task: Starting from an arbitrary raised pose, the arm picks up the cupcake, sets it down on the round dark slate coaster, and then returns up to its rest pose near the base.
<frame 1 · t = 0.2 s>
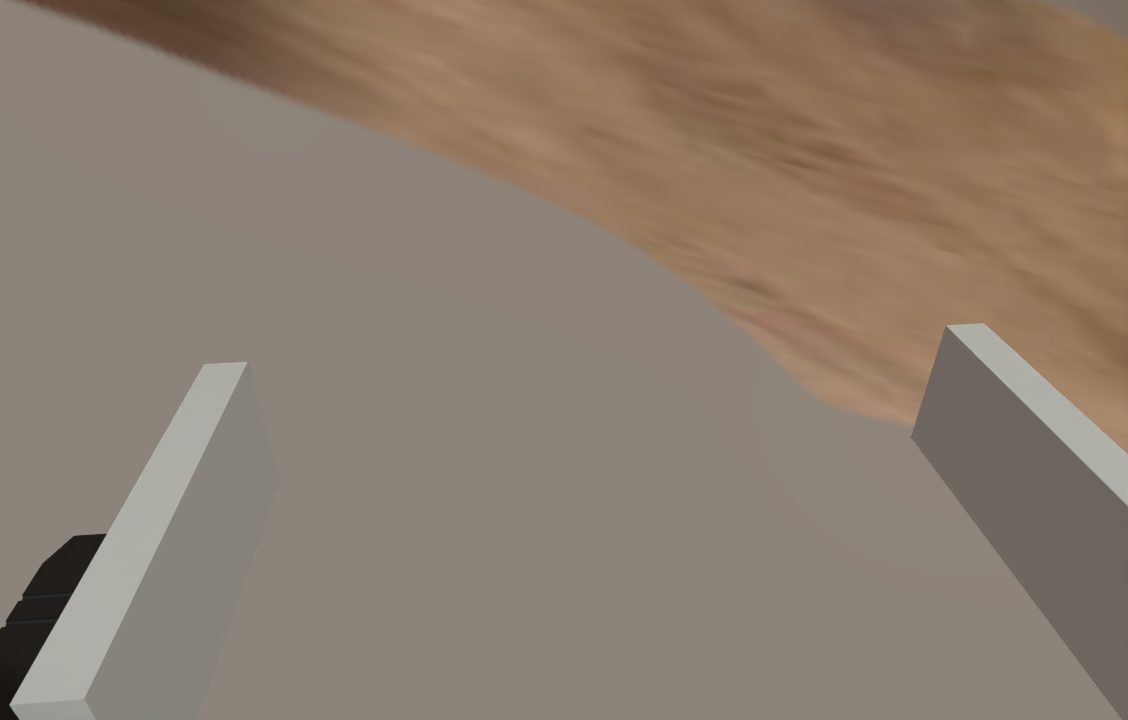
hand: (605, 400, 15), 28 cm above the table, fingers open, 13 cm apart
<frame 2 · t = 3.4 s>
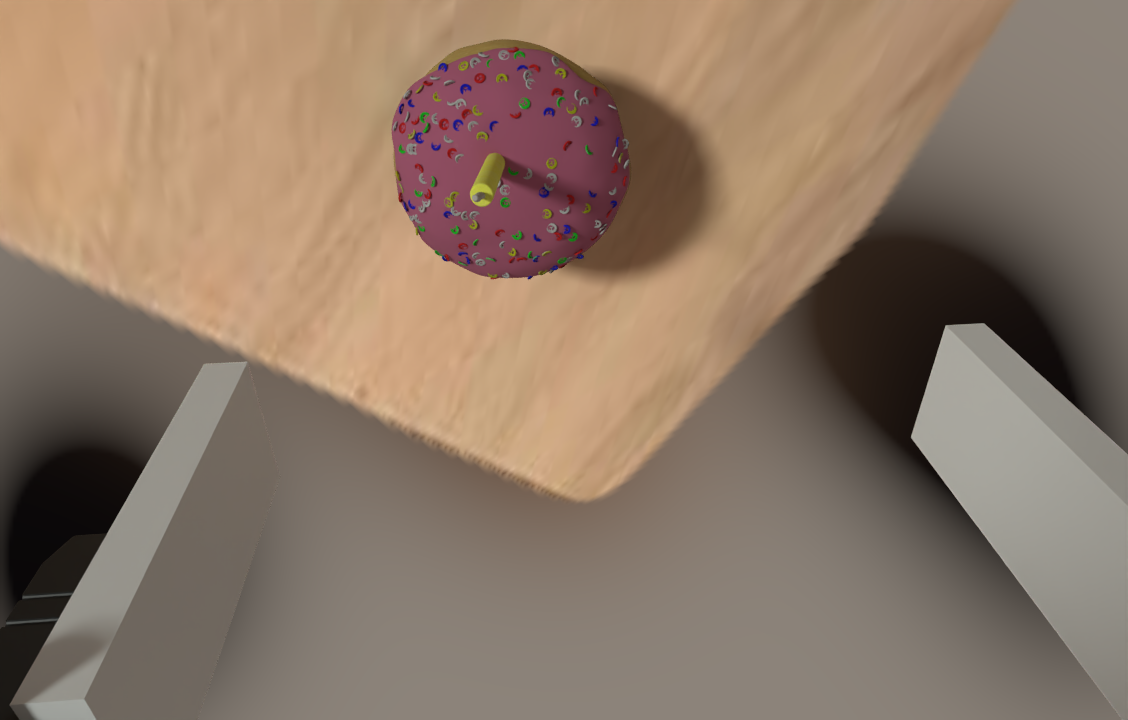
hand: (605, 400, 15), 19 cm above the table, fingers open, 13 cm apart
cupcake: (509, 129, 31), on the table
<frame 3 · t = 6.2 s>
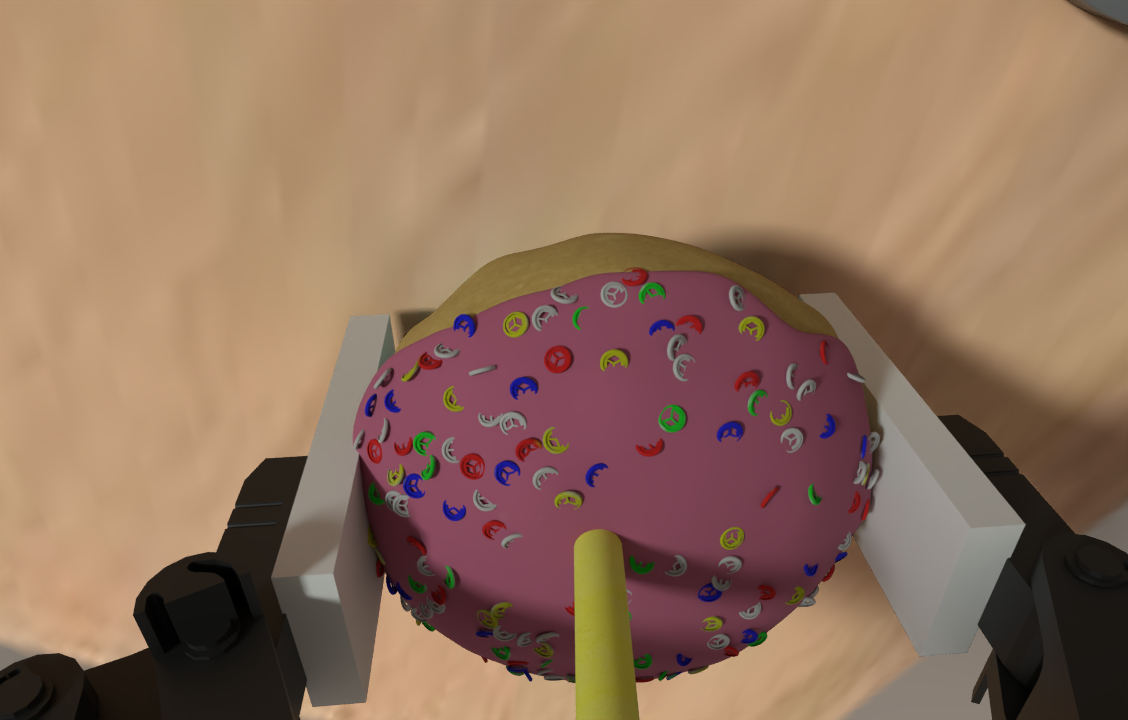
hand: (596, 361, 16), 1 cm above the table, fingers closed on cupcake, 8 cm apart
cupcake: (585, 335, 17), on the table, touching gripper
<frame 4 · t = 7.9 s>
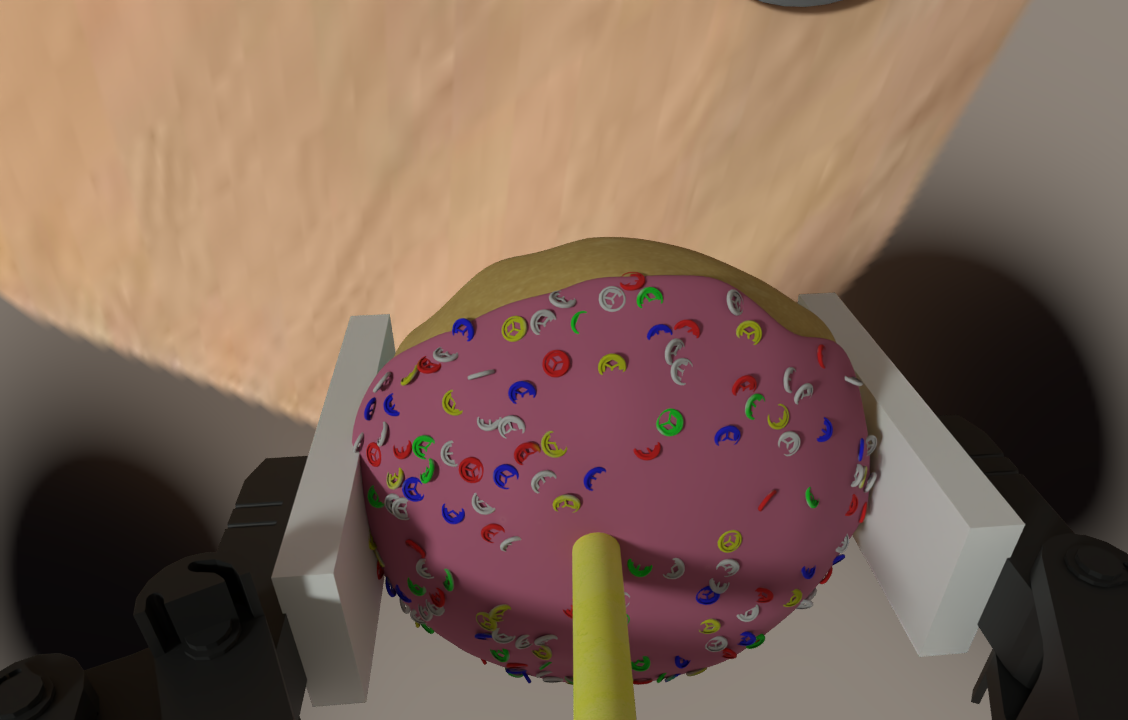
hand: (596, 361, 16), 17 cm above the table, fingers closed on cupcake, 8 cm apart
cupcake: (584, 338, 17), point 16 cm above the table, touching gripper
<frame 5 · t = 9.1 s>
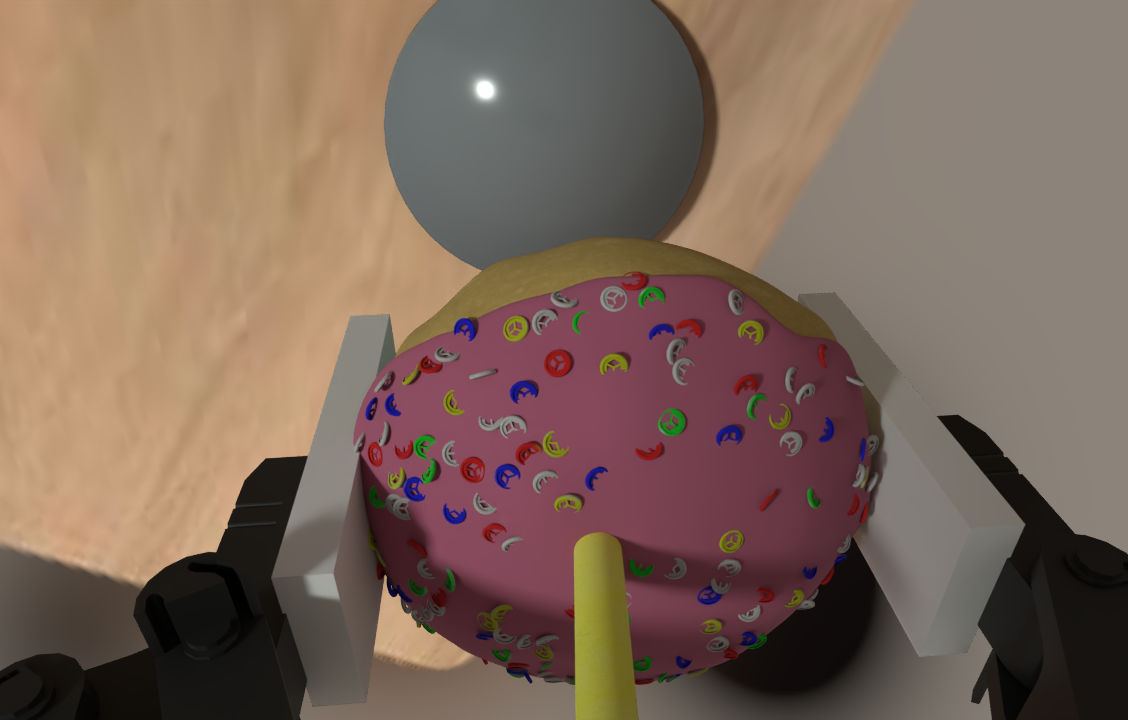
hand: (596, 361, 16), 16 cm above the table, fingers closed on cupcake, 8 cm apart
cupcake: (585, 338, 17), point 15 cm above the table, touching gripper
coaster: (545, 133, 29), on the table
when the fingers open (4 cm above the table, at t = 12.0 s): cupcake drops 2 cm, resting on coaster.
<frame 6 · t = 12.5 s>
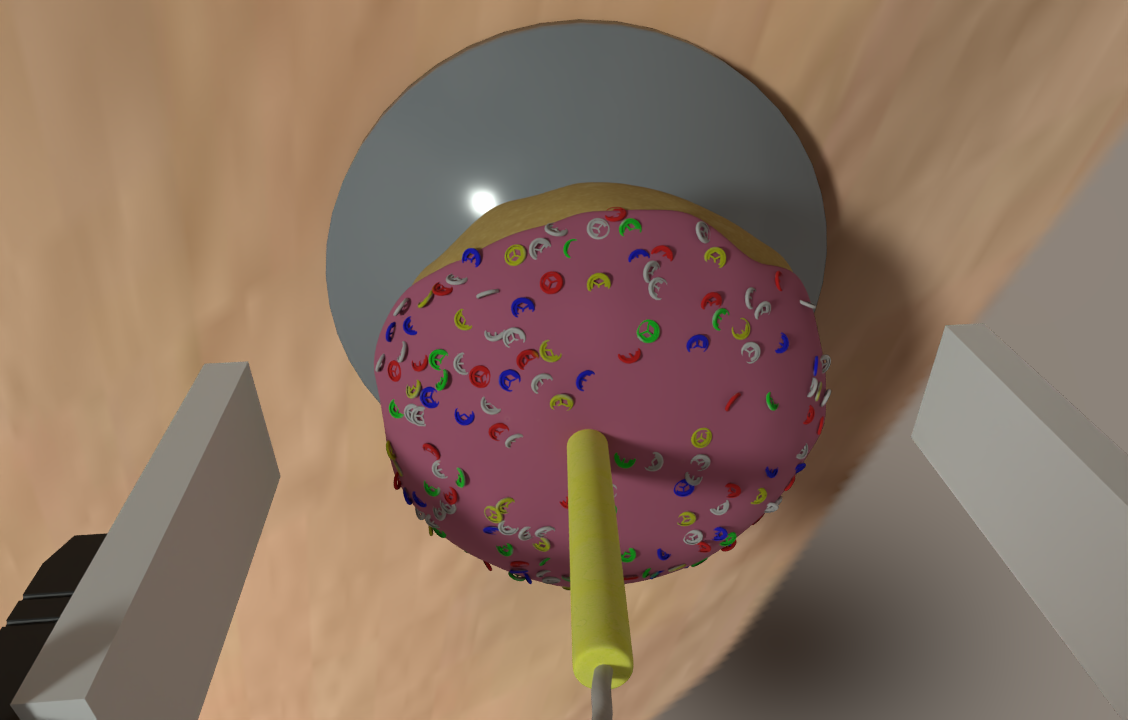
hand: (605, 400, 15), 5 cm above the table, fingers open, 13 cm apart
cupcake: (575, 291, 18), point 1 cm above the table, touching coaster
coaster: (578, 278, 19), on the table
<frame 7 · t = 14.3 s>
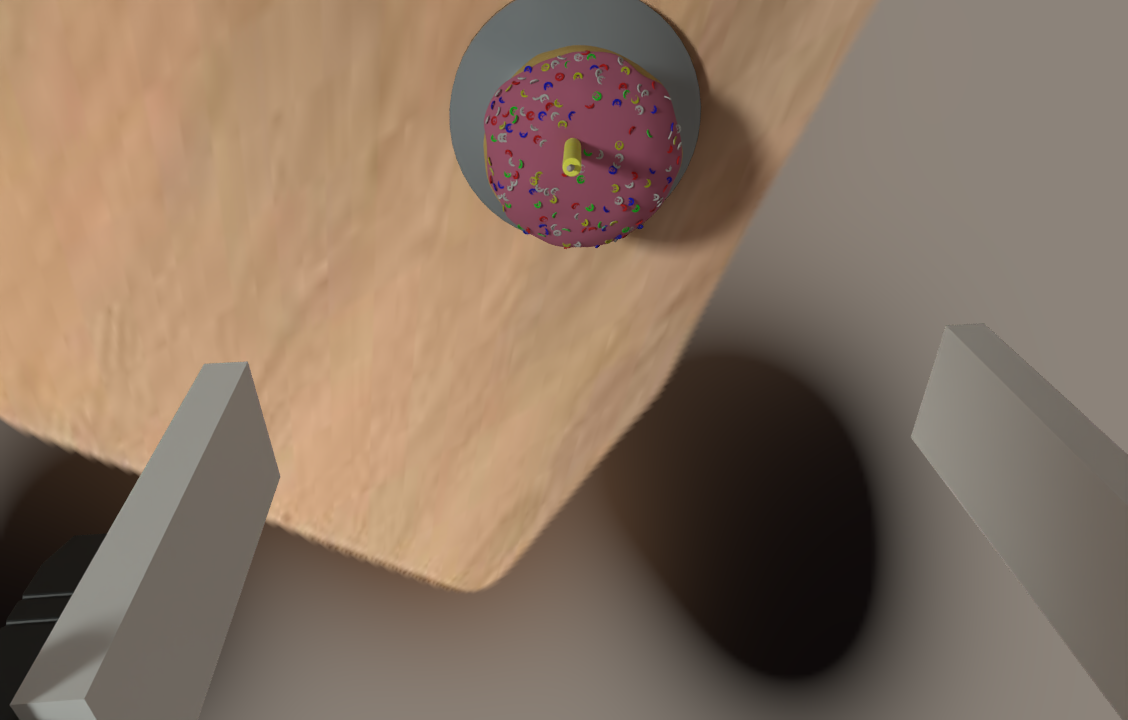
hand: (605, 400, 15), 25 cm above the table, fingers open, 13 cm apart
cupcake: (573, 123, 36), point 1 cm above the table, touching coaster
coaster: (574, 119, 37), on the table
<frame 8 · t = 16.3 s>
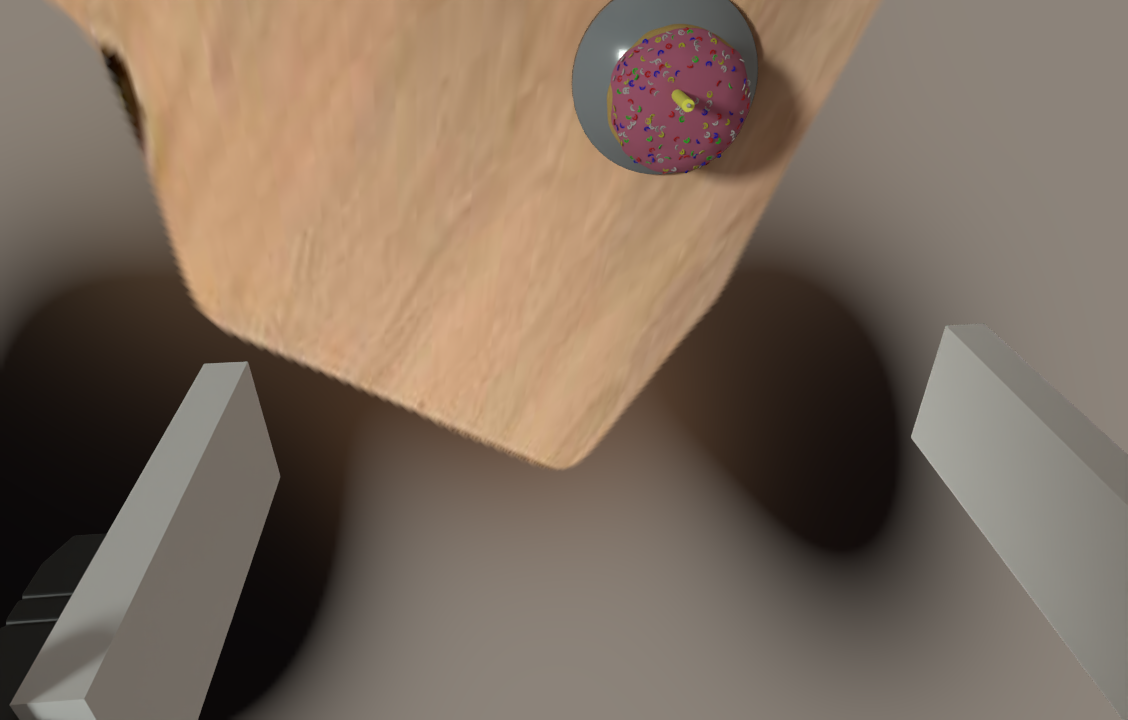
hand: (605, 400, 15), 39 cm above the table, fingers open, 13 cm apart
cupcake: (663, 82, 49), point 1 cm above the table, touching coaster
coaster: (663, 80, 49), on the table
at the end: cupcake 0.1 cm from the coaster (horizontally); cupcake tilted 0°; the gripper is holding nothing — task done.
